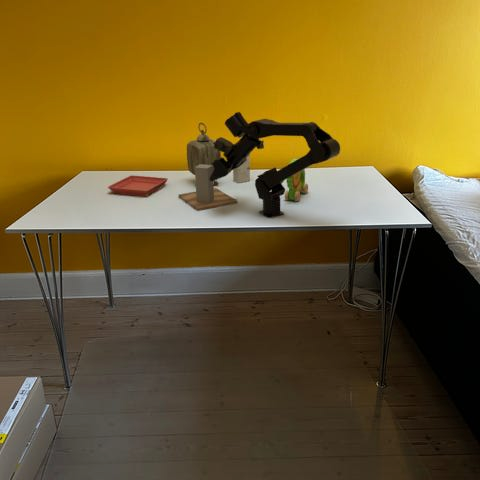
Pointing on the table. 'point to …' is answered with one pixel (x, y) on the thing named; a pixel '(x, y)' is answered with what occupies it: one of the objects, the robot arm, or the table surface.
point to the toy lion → (296, 185)
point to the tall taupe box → (204, 183)
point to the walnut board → (218, 201)
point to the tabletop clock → (201, 151)
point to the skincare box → (242, 172)
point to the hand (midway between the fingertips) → (215, 176)
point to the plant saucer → (138, 185)
